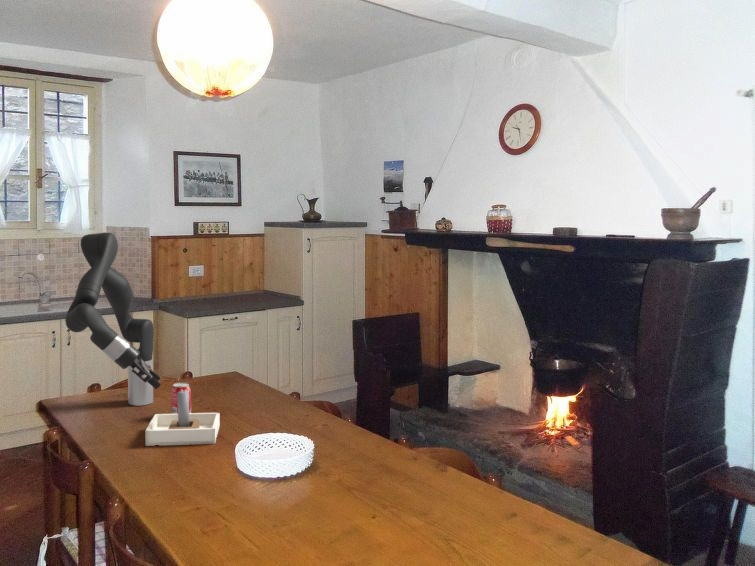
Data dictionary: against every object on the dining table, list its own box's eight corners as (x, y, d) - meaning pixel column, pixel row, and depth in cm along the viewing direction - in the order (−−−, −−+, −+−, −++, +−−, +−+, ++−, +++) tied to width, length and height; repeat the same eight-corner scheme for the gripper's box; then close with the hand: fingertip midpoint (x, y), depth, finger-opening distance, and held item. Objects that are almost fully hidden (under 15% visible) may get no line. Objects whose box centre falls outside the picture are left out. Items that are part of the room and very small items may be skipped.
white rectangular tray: (155, 428, 242) (155, 414, 241) (219, 426, 245) (219, 412, 244) (145, 445, 224) (145, 430, 224) (215, 443, 227) (214, 428, 227)
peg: (179, 431, 236) (178, 391, 234) (190, 430, 236) (189, 390, 235) (177, 434, 232) (176, 394, 231) (188, 434, 233) (187, 393, 231)
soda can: (194, 413, 259) (193, 382, 257) (187, 419, 252) (186, 387, 250) (175, 413, 259) (175, 381, 258) (168, 418, 252) (167, 386, 251)
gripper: (128, 347, 219) (167, 380, 224) (130, 338, 232) (166, 370, 237) (111, 365, 218) (150, 397, 223) (113, 355, 231) (150, 386, 236)
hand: (158, 383), depth 230 cm, fingers open, 8 cm apart
